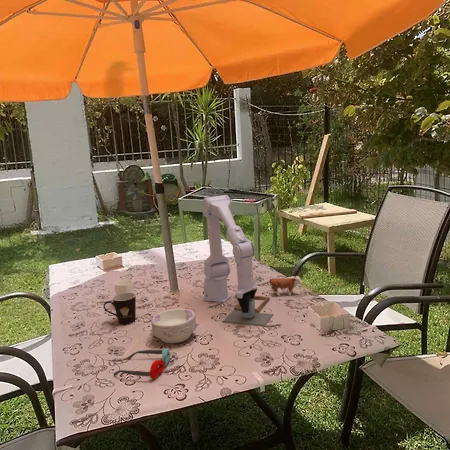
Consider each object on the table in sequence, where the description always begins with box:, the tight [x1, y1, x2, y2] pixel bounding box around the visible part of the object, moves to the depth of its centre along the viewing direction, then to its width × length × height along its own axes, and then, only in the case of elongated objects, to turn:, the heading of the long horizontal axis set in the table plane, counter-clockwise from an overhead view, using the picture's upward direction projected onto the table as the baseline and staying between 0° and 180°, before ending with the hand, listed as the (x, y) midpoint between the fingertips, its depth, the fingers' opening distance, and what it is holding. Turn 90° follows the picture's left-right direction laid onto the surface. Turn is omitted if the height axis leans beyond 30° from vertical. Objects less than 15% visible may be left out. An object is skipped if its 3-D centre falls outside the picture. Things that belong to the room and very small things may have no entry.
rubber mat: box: [222, 310, 274, 327], centre depth 174 cm, size 16×10×1 cm, turn 67°
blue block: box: [241, 299, 256, 318], centre depth 173 cm, size 4×4×6 cm
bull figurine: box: [269, 275, 303, 297], centre depth 194 cm, size 4×13×8 cm, turn 78°
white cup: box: [113, 278, 135, 295], centre depth 196 cm, size 8×8×10 cm
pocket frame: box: [233, 295, 271, 313], centre depth 186 cm, size 10×14×1 cm
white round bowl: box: [150, 308, 198, 344], centre depth 162 cm, size 15×15×8 cm
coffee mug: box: [102, 292, 137, 326], centre depth 179 cm, size 12×9×10 cm
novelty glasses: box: [113, 347, 171, 379], centre depth 142 cm, size 14×15×5 cm
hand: (247, 310), depth 173 cm, fingers open, 4 cm apart
